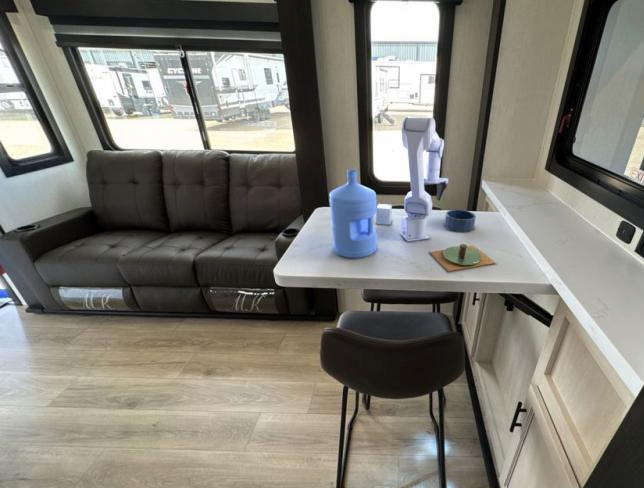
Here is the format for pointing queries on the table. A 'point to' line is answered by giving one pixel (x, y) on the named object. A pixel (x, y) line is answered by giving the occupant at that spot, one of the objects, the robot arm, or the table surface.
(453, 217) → the tin
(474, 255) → the lid
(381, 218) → the product box
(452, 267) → the mat
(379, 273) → the table surface
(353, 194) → the water jug
